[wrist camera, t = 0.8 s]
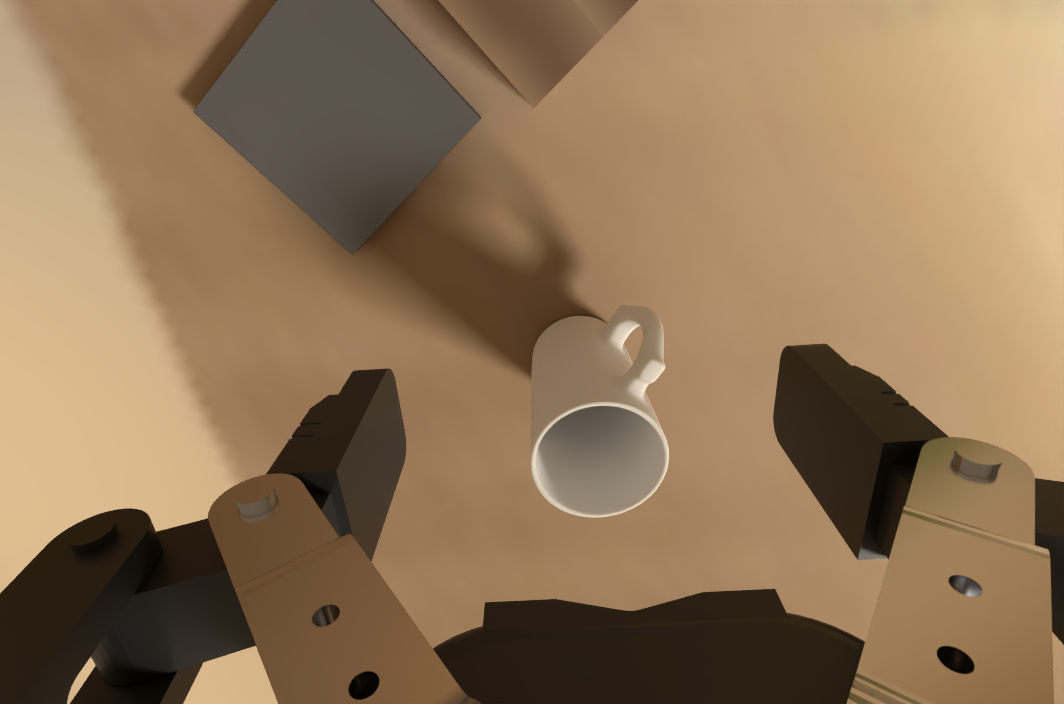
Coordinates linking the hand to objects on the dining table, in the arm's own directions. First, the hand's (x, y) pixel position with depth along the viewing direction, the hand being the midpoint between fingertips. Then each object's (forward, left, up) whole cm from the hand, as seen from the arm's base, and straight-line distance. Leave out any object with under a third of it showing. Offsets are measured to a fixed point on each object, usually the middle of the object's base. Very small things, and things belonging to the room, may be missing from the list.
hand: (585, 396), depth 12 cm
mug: (+4, +9, -25) cm, 27 cm away
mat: (+5, -11, -25) cm, 28 cm away
